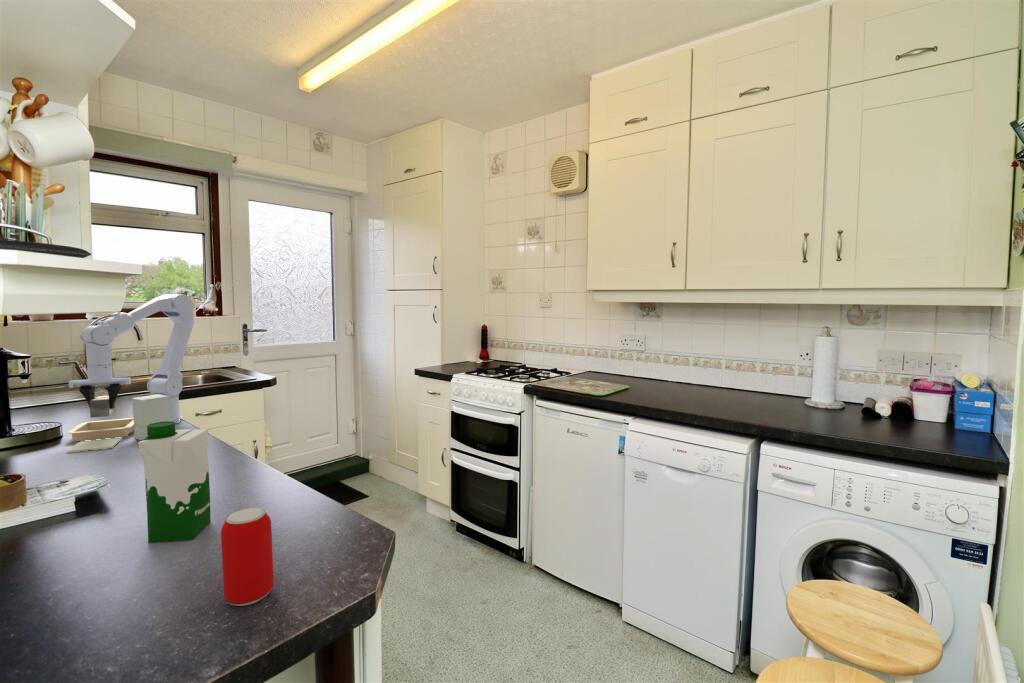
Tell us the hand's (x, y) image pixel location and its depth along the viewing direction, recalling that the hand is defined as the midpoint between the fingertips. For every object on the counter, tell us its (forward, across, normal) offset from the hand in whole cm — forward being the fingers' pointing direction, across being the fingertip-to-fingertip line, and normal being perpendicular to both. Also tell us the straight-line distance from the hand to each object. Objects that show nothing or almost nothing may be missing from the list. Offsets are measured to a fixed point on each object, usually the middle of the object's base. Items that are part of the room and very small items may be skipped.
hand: (102, 409), depth 149 cm
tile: (+8, +1, -12) cm, 15 cm away
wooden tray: (+8, 0, +2) cm, 9 cm away
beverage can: (+9, +45, -111) cm, 120 cm away
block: (+2, 0, 0) cm, 2 cm away
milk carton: (+9, +33, -84) cm, 91 cm away
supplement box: (+9, +14, -8) cm, 18 cm away
